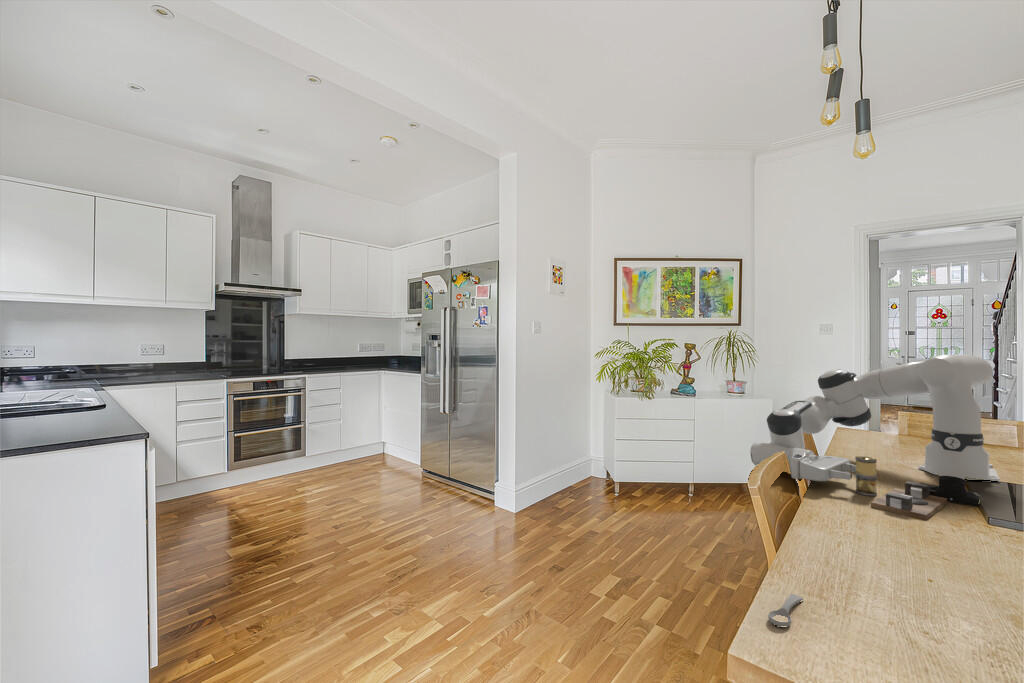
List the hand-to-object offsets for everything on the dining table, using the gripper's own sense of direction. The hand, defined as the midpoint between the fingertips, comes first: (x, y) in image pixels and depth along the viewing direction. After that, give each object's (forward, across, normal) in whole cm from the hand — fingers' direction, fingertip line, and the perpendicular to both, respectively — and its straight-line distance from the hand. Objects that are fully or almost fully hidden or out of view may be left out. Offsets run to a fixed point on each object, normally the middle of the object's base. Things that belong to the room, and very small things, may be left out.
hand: (857, 473), depth 131 cm
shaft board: (+12, +2, -5) cm, 13 cm away
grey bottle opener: (+14, +79, -6) cm, 80 cm away
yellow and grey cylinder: (+2, 0, -5) cm, 6 cm away
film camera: (+17, -13, -6) cm, 22 cm away
